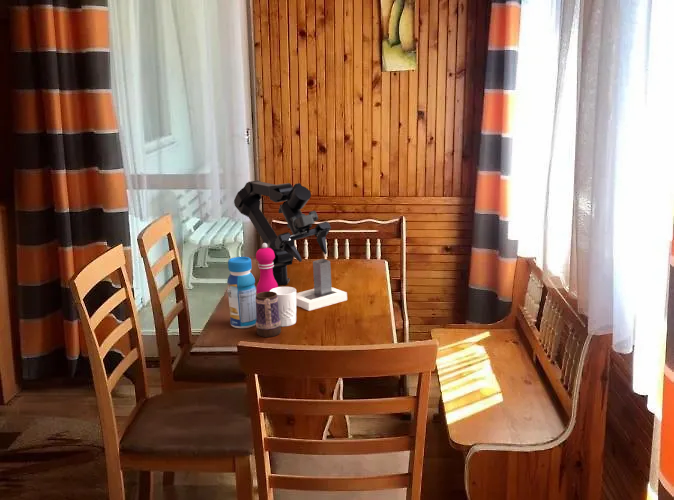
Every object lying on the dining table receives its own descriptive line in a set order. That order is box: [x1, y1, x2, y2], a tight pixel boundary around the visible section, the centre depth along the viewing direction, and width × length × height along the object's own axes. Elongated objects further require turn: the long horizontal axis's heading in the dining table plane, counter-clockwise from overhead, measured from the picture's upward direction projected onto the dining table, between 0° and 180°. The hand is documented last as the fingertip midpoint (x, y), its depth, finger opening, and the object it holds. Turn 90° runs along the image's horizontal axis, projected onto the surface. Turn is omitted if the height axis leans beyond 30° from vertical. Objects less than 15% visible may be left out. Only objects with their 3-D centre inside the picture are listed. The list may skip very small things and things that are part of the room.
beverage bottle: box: [226, 256, 257, 329], centre depth 219 cm, size 8×8×20 cm
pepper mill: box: [255, 242, 279, 294], centre depth 237 cm, size 7×7×20 cm
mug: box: [255, 291, 282, 338], centre depth 211 cm, size 10×7×12 cm
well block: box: [296, 287, 348, 312], centre depth 239 cm, size 11×15×2 cm
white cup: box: [270, 286, 297, 327], centre depth 220 cm, size 8×8×10 cm
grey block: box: [304, 258, 332, 300], centre depth 238 cm, size 4×8×13 cm, turn 127°
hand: (313, 257), depth 240 cm, fingers open, 9 cm apart
